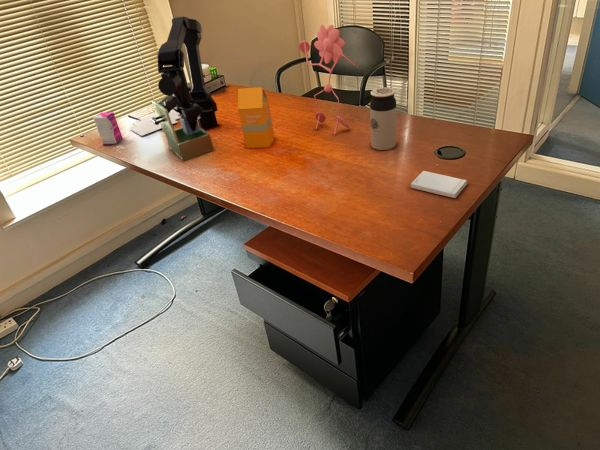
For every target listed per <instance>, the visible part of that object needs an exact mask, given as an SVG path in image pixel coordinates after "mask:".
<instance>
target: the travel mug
mask: <svg viewBox="0 0 600 450" xmlns="http://www.w3.org/2000/svg"><path fill="white" fill-rule="evenodd" d="M395 94H396V89H394V88H392V87H385V86H384V87H377V88H374V89H372V90H371V91H370V95H371V99H370V102H369V113H370V114H369V115H370V116H369V117H370V144H371V147H372V148H373V149H375V150H377V151H387V150H388V151H389V150H392V149H393V148H395V147H396V146H397V99H396V97H395Z"/></svg>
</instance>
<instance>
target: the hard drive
mask: <svg viewBox="0 0 600 450" xmlns="http://www.w3.org/2000/svg"><path fill="white" fill-rule="evenodd" d="M467 185H468V180H467V179H463V178H458V177H453V176H449V175H445V174H440V173H435V172H430V171H426V170H423V171H422V172H420V173H419V174H418V175H417V176H416V177H415V179H414V180H412V182H411V183H410V188H411V189H415V190H418V191H423V192H427V193H431V194H435V195H440V196H443V197H448V198H452V199H456V198H457V197H458V196H459V195H460V194H461V192H462V191H463V190H464V189H465V187H467Z"/></svg>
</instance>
